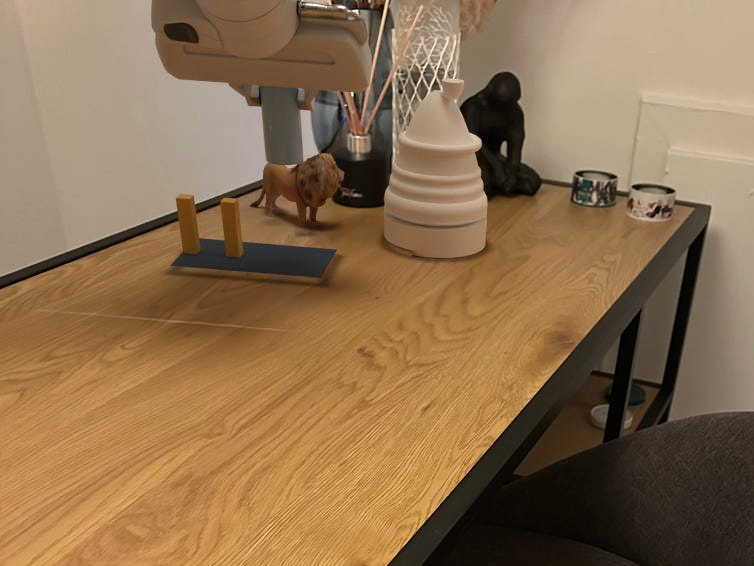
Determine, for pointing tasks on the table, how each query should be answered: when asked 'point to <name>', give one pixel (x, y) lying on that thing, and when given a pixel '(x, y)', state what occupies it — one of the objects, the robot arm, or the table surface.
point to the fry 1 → (188, 223)
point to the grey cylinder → (281, 125)
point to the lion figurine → (301, 185)
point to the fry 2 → (231, 227)
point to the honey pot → (437, 182)
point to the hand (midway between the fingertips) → (281, 102)
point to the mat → (260, 259)
